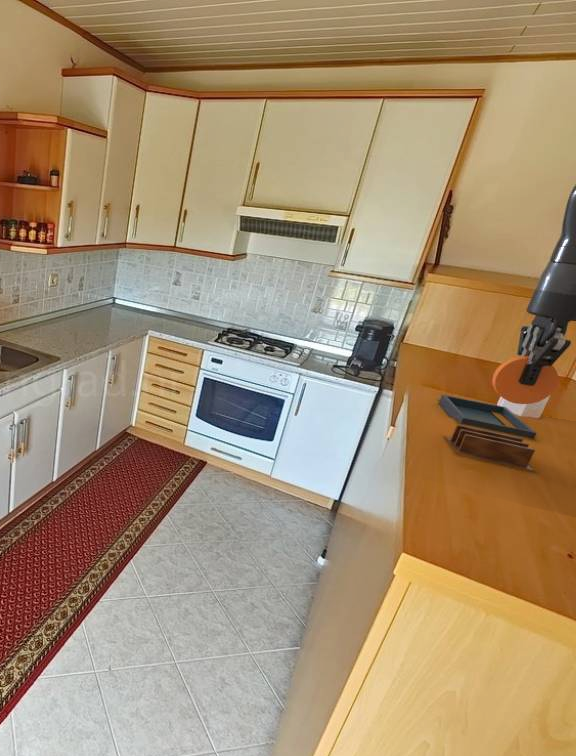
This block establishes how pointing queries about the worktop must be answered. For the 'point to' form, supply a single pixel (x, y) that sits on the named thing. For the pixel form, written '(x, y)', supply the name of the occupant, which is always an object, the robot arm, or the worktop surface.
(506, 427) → the tray
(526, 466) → the rack
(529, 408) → the jar
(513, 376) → the disc
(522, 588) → the worktop surface
